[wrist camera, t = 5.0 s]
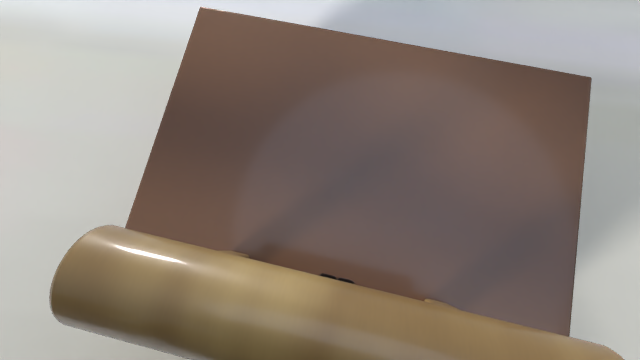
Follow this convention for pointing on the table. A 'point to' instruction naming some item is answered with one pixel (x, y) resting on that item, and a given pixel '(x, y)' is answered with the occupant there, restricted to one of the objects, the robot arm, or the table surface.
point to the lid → (345, 206)
